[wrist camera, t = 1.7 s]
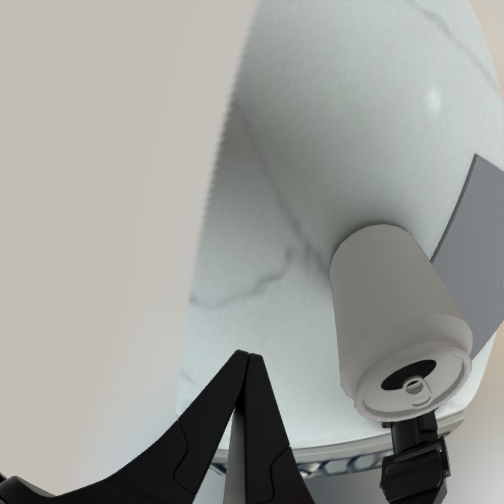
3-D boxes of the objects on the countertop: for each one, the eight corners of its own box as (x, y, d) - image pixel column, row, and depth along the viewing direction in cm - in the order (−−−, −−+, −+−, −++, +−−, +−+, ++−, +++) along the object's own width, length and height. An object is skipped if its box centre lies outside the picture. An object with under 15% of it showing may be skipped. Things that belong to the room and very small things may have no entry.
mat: (467, 361, 25) (468, 364, 25) (376, 349, 25) (376, 352, 25) (556, 214, 15) (559, 216, 15) (475, 154, 15) (477, 155, 15)
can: (393, 200, 18) (475, 311, 8) (430, 272, 21) (487, 388, 10) (309, 253, 21) (311, 392, 11) (356, 315, 24) (374, 440, 13)
